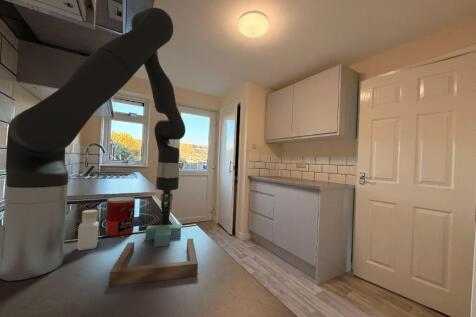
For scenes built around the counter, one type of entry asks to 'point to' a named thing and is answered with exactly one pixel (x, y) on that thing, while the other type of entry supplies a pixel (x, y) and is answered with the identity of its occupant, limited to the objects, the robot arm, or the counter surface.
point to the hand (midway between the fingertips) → (165, 225)
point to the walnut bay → (152, 268)
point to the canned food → (120, 216)
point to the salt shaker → (88, 230)
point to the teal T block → (163, 233)
